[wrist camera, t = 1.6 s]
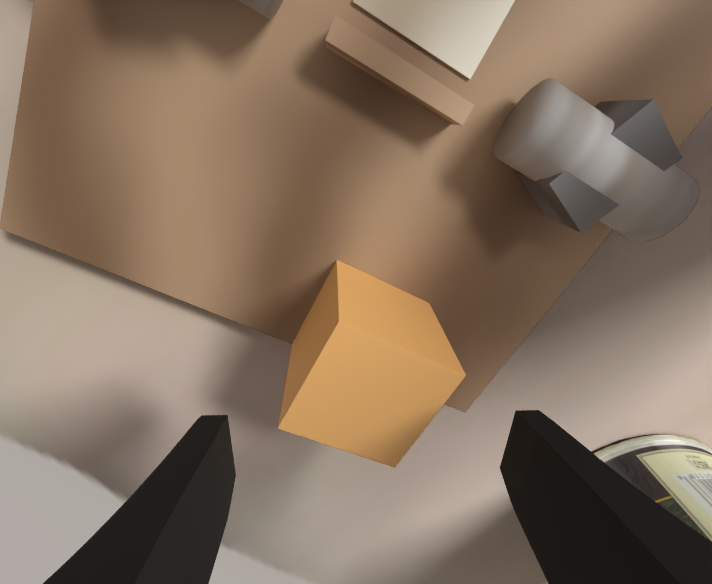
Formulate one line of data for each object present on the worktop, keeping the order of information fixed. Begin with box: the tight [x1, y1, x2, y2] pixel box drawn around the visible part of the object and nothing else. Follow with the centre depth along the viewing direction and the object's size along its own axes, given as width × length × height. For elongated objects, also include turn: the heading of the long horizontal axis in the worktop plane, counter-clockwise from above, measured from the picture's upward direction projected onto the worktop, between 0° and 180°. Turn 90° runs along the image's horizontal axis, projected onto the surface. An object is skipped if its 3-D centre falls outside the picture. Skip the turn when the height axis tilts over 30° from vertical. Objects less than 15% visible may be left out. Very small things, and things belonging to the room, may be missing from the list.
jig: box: [0, 0, 712, 412], centre depth 11 cm, size 19×18×3 cm
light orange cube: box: [278, 260, 466, 467], centre depth 13 cm, size 4×4×4 cm
